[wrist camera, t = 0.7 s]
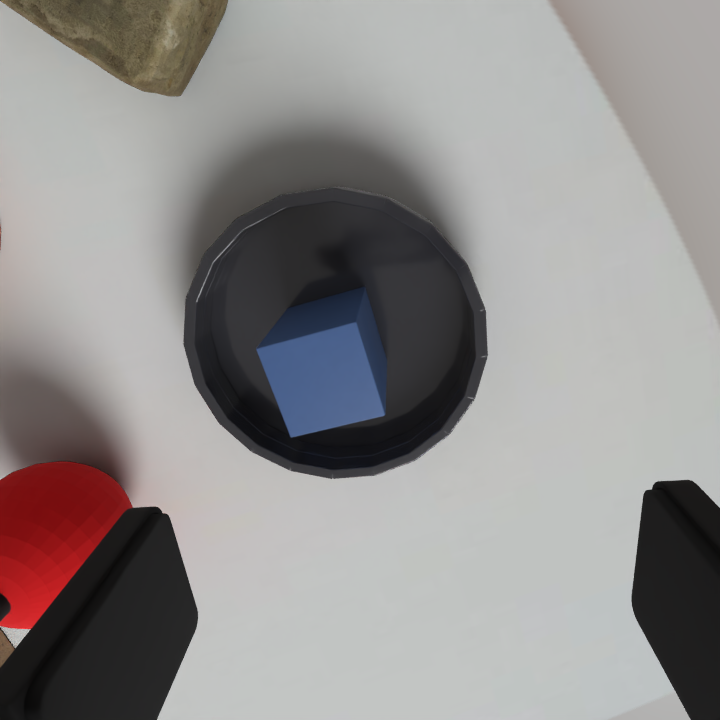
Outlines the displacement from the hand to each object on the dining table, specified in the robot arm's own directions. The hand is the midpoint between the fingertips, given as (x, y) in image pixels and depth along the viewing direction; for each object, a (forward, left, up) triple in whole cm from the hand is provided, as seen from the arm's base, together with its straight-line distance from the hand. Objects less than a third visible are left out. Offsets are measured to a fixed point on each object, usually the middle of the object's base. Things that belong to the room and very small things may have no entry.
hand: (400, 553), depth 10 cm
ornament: (+21, -11, -18) cm, 30 cm away
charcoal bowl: (+3, -2, -18) cm, 19 cm away
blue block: (+3, -2, -18) cm, 18 cm away
